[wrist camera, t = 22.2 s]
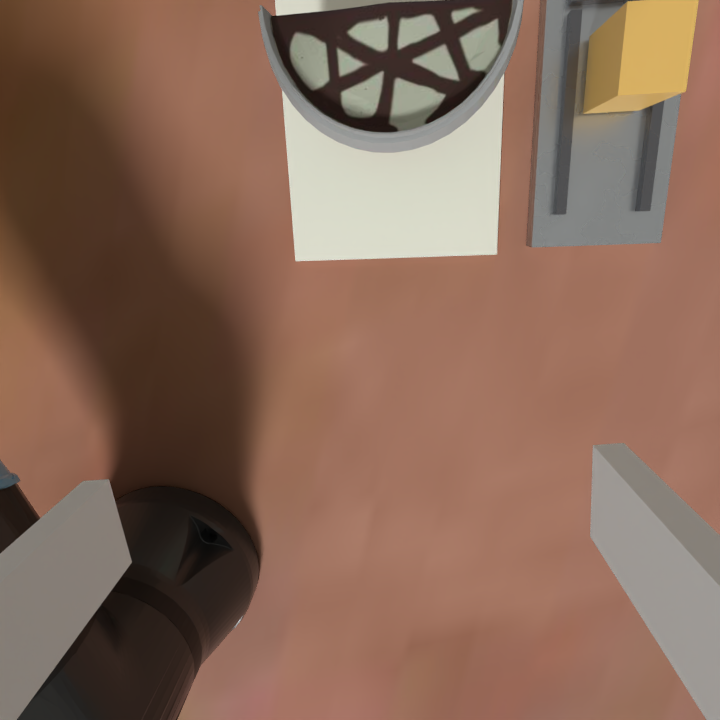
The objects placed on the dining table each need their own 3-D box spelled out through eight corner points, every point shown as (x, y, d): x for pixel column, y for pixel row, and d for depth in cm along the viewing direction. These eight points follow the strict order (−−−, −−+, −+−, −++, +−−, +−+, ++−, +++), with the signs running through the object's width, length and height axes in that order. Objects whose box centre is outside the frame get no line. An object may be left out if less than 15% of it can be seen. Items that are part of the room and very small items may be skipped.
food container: (303, 171, 33) (262, 156, 23) (295, 67, 31) (247, 6, 22) (490, 159, 32) (527, 139, 22) (493, 51, 30) (535, -21, 20)
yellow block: (582, 113, 29) (617, 95, 24) (589, 36, 28) (627, 1, 23) (639, 110, 29) (685, 91, 24) (648, 32, 28) (699, -5, 23)
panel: (526, 245, 33) (534, 248, 31) (541, -14, 29) (551, -31, 27) (649, 241, 33) (666, 243, 31) (683, -26, 28) (706, -44, 26)
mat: (296, 260, 35) (295, 261, 35) (272, -40, 30) (271, -42, 29) (496, 254, 34) (496, 254, 33) (508, -62, 28) (509, -65, 28)
